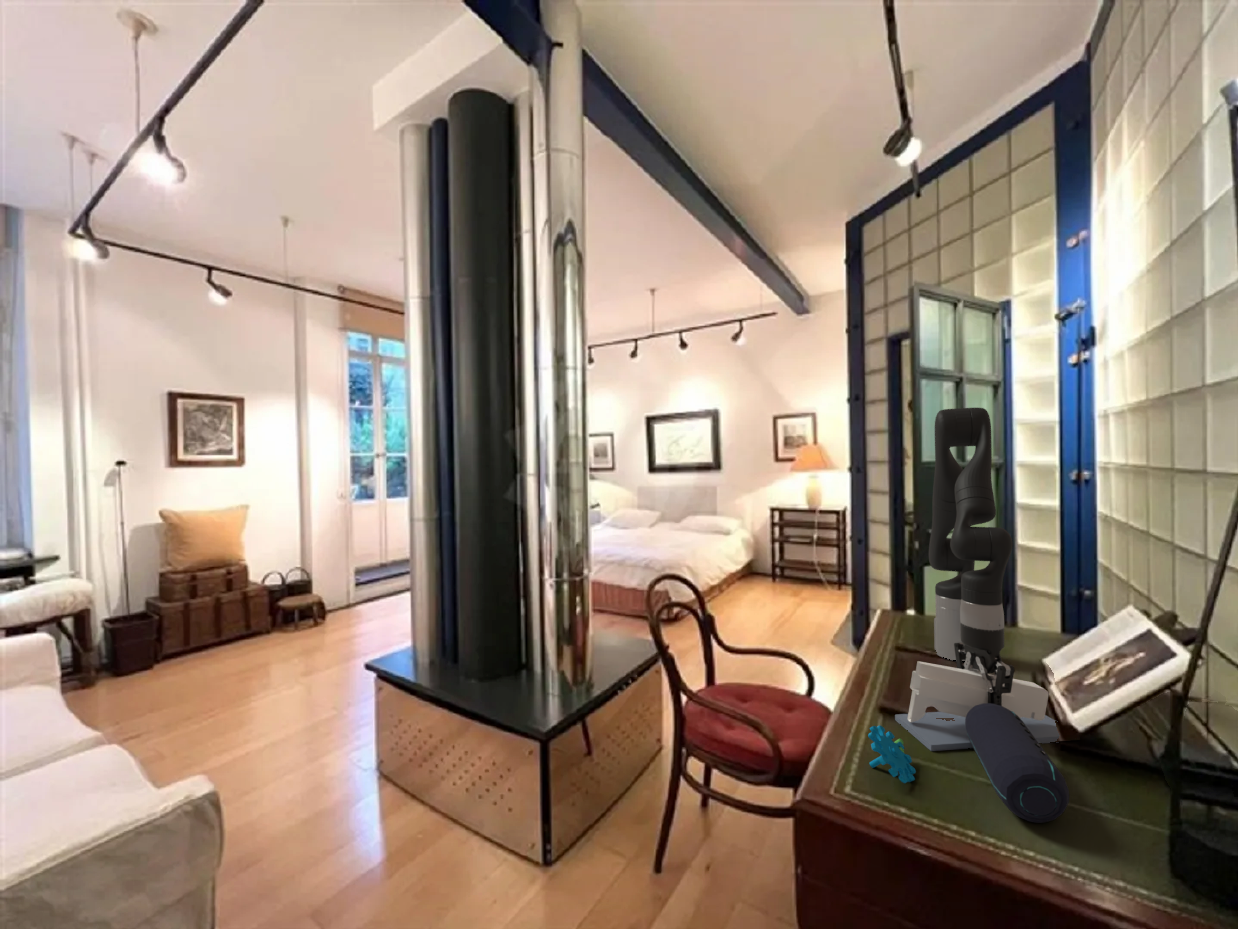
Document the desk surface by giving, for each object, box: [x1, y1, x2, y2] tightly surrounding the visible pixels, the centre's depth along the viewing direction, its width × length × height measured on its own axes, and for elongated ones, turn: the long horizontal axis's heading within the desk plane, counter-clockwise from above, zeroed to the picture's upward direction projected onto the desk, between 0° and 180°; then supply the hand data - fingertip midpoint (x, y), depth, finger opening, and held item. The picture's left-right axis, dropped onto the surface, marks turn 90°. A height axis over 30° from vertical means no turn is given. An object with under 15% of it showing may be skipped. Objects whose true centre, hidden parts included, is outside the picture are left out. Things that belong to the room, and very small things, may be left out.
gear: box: [867, 725, 917, 784], centre depth 97 cm, size 11×6×10 cm
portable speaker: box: [965, 703, 1070, 824], centre depth 92 cm, size 25×10×10 cm, turn 159°
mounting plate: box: [894, 711, 1060, 752], centre depth 110 cm, size 12×31×1 cm, turn 94°
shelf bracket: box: [907, 660, 1050, 722], centre depth 110 cm, size 6×25×13 cm, turn 85°
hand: (982, 702), depth 110 cm, fingers closed on shelf bracket, 5 cm apart
